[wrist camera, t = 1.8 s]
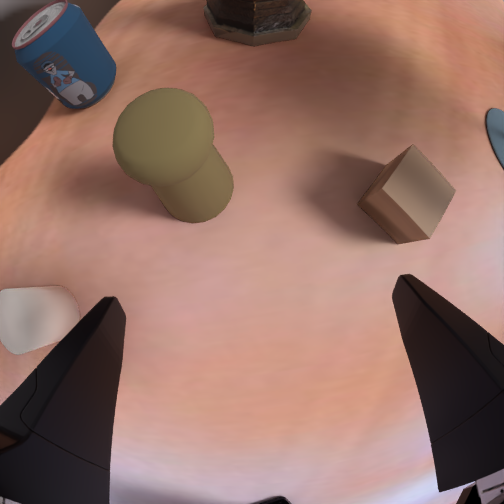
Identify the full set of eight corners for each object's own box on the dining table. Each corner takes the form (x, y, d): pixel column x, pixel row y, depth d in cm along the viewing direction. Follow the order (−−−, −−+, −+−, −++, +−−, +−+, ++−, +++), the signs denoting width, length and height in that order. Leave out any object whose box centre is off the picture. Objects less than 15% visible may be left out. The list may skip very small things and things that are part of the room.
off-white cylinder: (56, 345, 21) (9, 362, 14) (36, 298, 22) (-13, 304, 15) (88, 326, 21) (39, 342, 14) (66, 276, 22) (14, 277, 15)
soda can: (102, 56, 23) (58, -9, 11) (132, 76, 23) (85, -2, 11) (59, 98, 23) (1, 44, 11) (83, 124, 23) (14, 62, 11)
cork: (168, 232, 22) (99, 201, 11) (155, 164, 22) (93, 96, 11) (242, 211, 22) (233, 158, 11) (223, 143, 22) (204, 56, 11)
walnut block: (397, 244, 22) (429, 238, 17) (356, 204, 22) (381, 188, 17) (423, 203, 22) (456, 190, 17) (386, 165, 22) (412, 144, 17)
